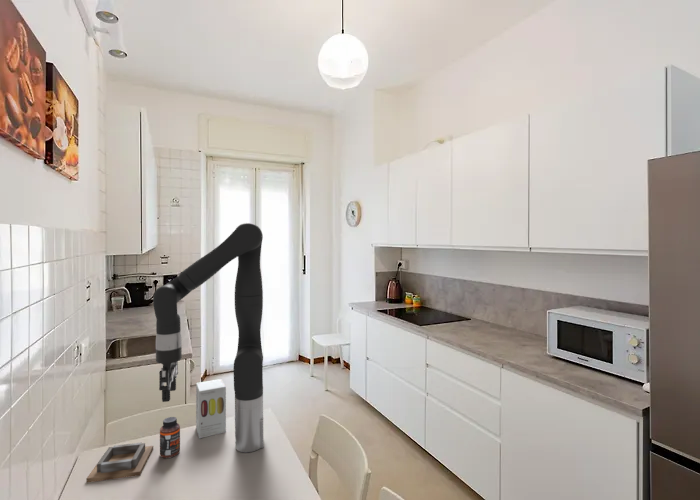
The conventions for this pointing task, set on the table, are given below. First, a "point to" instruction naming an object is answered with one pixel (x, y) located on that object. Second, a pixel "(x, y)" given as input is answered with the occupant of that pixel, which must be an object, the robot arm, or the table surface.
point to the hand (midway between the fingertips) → (169, 395)
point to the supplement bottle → (169, 438)
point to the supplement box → (210, 408)
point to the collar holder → (121, 462)
